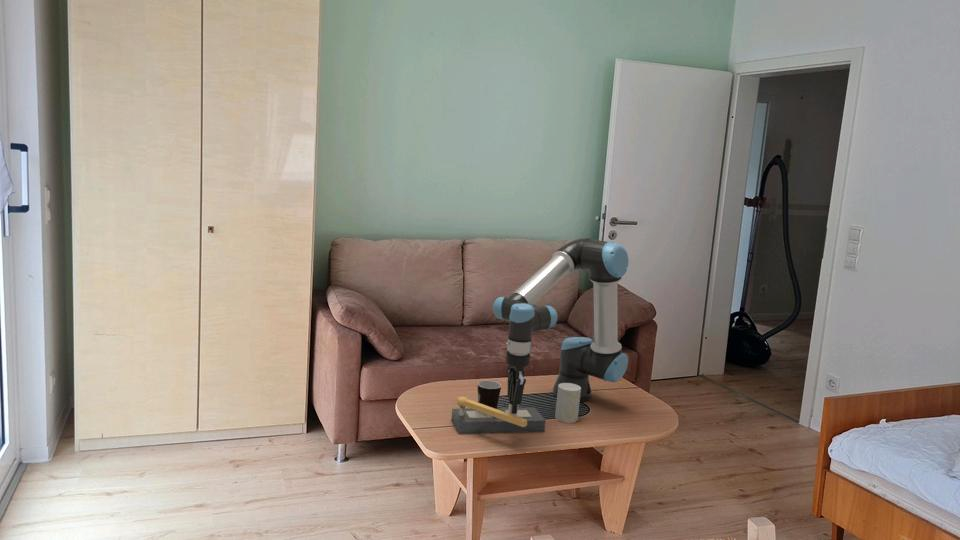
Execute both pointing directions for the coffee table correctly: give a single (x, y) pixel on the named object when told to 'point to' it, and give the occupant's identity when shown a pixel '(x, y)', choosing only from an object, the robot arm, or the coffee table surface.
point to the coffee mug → (489, 393)
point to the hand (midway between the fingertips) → (512, 421)
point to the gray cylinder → (567, 402)
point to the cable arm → (491, 411)
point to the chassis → (495, 421)
